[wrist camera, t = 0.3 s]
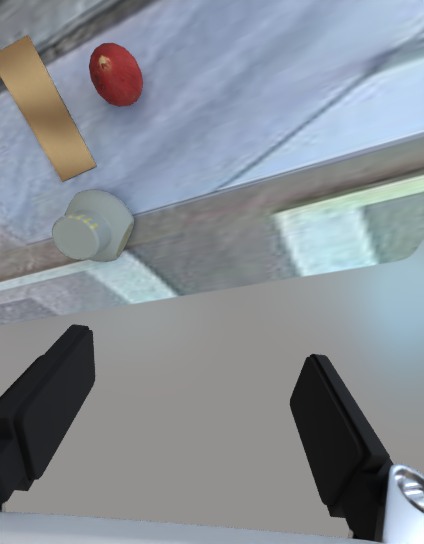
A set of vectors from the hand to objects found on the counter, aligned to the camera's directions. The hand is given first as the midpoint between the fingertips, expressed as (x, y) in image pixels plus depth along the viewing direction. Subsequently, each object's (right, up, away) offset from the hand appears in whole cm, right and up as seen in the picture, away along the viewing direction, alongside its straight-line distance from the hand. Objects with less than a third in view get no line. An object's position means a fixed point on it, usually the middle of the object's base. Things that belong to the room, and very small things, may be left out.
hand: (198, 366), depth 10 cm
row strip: (-23, +26, +23) cm, 41 cm away
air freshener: (-17, +12, +29) cm, 35 cm away
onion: (-11, +29, +21) cm, 38 cm away
